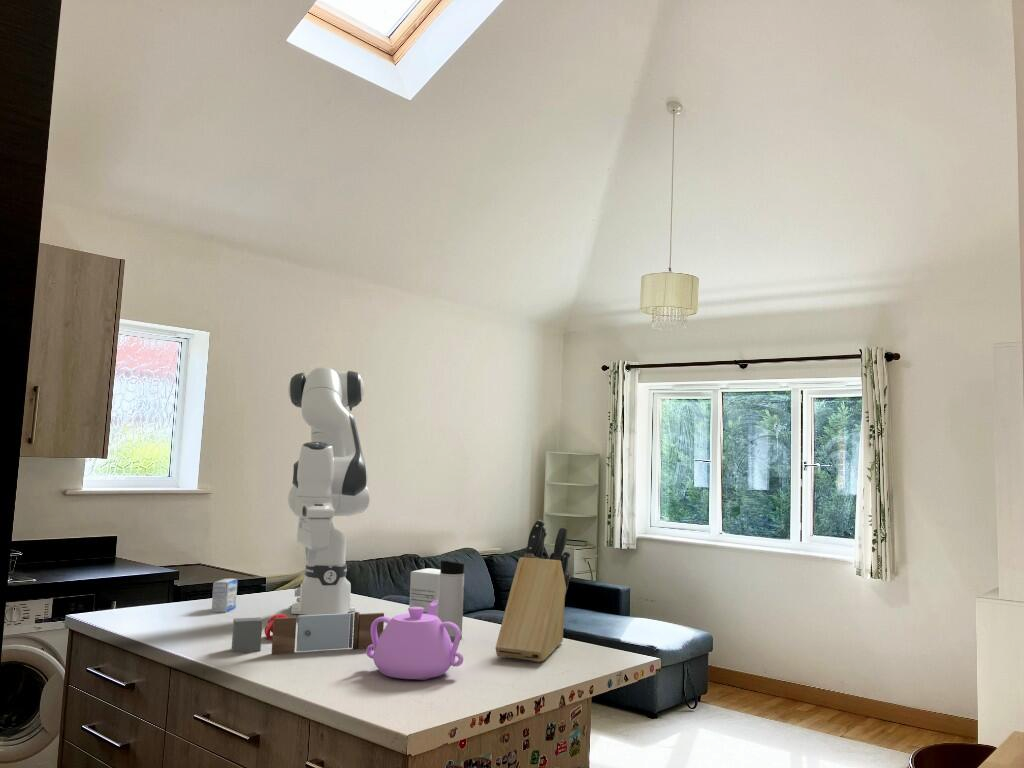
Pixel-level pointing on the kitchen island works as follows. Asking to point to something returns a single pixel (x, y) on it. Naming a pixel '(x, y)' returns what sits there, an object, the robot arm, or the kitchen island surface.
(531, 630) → the knife block
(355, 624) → the door frame
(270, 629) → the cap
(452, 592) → the travel mug
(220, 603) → the medicine box
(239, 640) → the block
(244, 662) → the kitchen island surface
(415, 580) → the supplement box
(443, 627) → the teapot
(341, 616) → the door
